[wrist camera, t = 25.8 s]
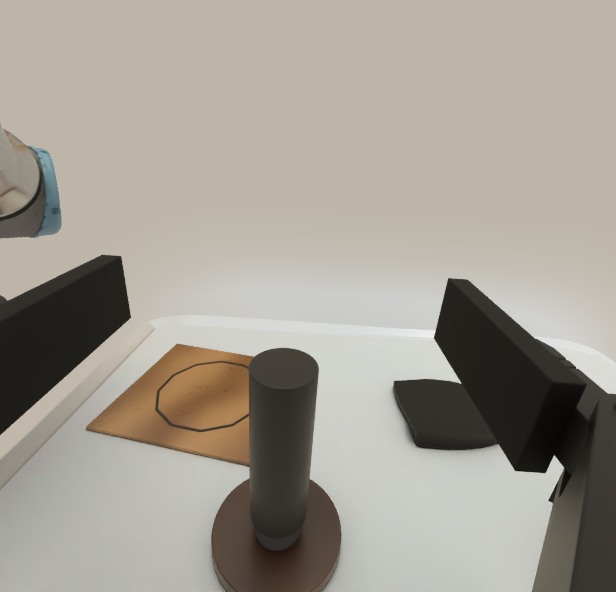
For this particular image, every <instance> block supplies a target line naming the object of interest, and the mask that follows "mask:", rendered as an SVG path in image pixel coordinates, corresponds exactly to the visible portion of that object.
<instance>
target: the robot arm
mask: <svg viewBox="0 0 616 592" xmlns="http://www.w3.org/2000/svg"><path fill="white" fill-rule="evenodd" d="M60 228H61V211H60V201H59V193H58V187H57V181H56V176H55V171H54V166H53V162H52V159H51V157H50V154H49V153H48V152H47V151H46V150H44V149H41V148H35V147H33V146H26V145H25V144H24V143H23V142H22V141H21V140H19V139H18V138H17V137H16V136H14V135H13V134H11V133H10V132H8V131H6V130H5V129H3V128H2V126H1V124H0V238H14V237H30V238H31V237H33V238H35V237H39V236H43V235H51V234H55V233H57V232H58V231H59V230H60ZM130 318H131V315H130V309H129V302H128V296H127V290H126V284H125V277H124V271H123V265H122V259H121V256H109V255H101V256H99V257H97V258H95V259H93V260H91V261H89V262H87V263H85V264H83V265H80V266H78V267H76V268H74V269H72V270H70V271H68V272H66V273H64V274H62V275H60V276H58V277H56V278H54V279H52V280H50V281H48V282H46V283H44V284H42V285H40V286H37V287H35V288H34V289H31V290H29V291H27V292H25V293H23V294H21V295H19V296H17V297H15V298H13V299H11V300H9V301H7V302H5V303H3V304H1V305H0V435H1V434H2V433H3V432H4V431H5V430H6V429H7V428H9V427H10V426H11V425H12V424H13V423H14V422H15V421H16V420H17V419H19V418H20V417H21V416H22V415H23V414H24V413H25V412H26V411H27V410H28V409H30V408H31V407H32V406H33V405H34V404H35V403H36V402H37V401H39V400H40V399H41V398H42V397H43V396H44V395H45V394H46V393H48V392H49V391H50V390H51V389H52V388H53V387H54V386H55V385H56V384H58V383H59V382H60V381H61V380H62V379H63V378H64V377H65V376H66V375H68V374H69V373H70V372H71V371H72V370H73V369H74V368H75V367H76V366H77V365H79V364H80V363H81V362H82V361H83V360H84V359H85V358H87V357H88V356H89V355H90V354H91V353H92V352H93V351H94V350H95V349H96V348H98V347H99V346H100V345H101V344H102V343H103V342H104V341H105V340H106V339H108V338H109V337H110V336H111V335H112V334H113V333H114V332H115V331H117V330H118V329H119V328H120V327H121V326H122V325H123V324H124V323H126V321H128V320H129V319H130ZM434 339H435V341H436V342H437V344H438V345H439V347H440V349H441V350H442V352H443V354H444V355H445V357H446V359H447V360H448V362H449V363H450V365H451V367H452V368H453V370H454V372H455V373H456V375H457V377H458V378H459V380H460V381H461V383H462V385H463V386H464V388H465V390H466V391H467V393H468V395H469V396H470V398H471V399H472V401H473V403H474V404H475V406H476V408H477V409H478V411H479V412H480V414H481V416H482V417H483V419H484V421H485V422H486V424H487V426H488V427H489V429H490V430H491V432H492V434H493V435H494V437H495V439H496V440H497V442H498V444H499V445H500V447H501V448H502V450H503V452H504V453H505V455H506V457H507V458H508V460H509V461H510V463H511V465H512V466H513V468H514V470H515V471H523V472H538V473H546V471H547V469H548V467H549V464H550V462H551V460H552V458H553V456H554V455H555V456H556V458H557V459H558V460H559V461H560V463H561V464H562V465H563V467H564V470H563V472H562V474H561V476H560V478H559V480H558V482H557V484H556V486H555V488H554V490H553V492H552V494H551V496H550V498H549V500H548V501H550V502H552V503H553V506H552V511H551V515H550V519H549V523H548V527H547V531H546V536H545V540H544V544H543V548H542V552H541V556H540V560H539V565H538V569H537V573H536V577H535V581H534V585H533V589H532V592H616V394H607V393H606V392H605V391H604V390H603V389H602V388H600V387H599V386H598V385H597V384H596V383H594V382H593V381H592V380H591V379H590V378H589V377H587V376H586V375H585V374H584V373H583V372H581V371H580V370H579V369H576V367H575V366H574V365H573V364H572V363H571V362H570V361H568V360H566V358H565V357H564V356H562V355H561V354H560V353H559V352H558V351H557V350H555V349H554V348H552V347H551V346H549V345H547V344H545V343H543V342H541V341H540V340H538V339H535V338H534V337H532V336H531V335H530V334H529V333H528V332H527V331H525V330H524V329H523V328H522V327H521V326H520V325H519V324H518V323H516V322H515V321H514V320H513V319H512V318H511V317H509V316H508V315H507V314H506V313H505V312H504V311H503V310H502V309H500V308H499V307H498V306H497V305H496V304H495V303H493V302H492V301H491V300H490V299H489V298H488V297H487V296H485V295H484V294H483V293H482V292H481V291H480V290H479V289H478V288H476V287H475V286H474V285H473V284H472V283H471V282H470V281H468V280H464V279H451V278H449V279H448V282H447V286H446V290H445V294H444V298H443V303H442V307H441V311H440V315H439V319H438V324H437V328H436V332H435V336H434Z"/></svg>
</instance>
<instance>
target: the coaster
mask: <svg viewBox="0 0 616 592" xmlns="http://www.w3.org/2000/svg"><path fill="white" fill-rule="evenodd" d="M340 544H341V525H340V520H339V516H338V513H337V510H336V508H335V506H334V504H333V502H332V500H331V499H330V497H329V496H328V495H327V493H326V492H325V491H324V490H323V489H322V488H321V487H320V486H319V485H317V484H316V483H315V482H313V481H312V480H310V479H309V489H308V501H307V512H306V518H305V521H304V523H303V525H302V526H301V528H300V533H299V536H298V538H297V540H296V541H295V543H294V544H293V545H292V546H290V547H289V548H287V549H285V550H281V551H272V550H269V549H267V548H265V547H264V546H262V545H261V544H260V542H259V541H258V539H257V537H256V533H255V527H254V525H253V524H252V521H251V517H250V479H248V480H246V481H244V482H243V483H241V484H240V485H239V486H237V487H236V488H235V489H234V490H233V491H232V492H231V493H230V494H229V495H228V496H227V498H226V499H225V500H224V502H223V503H222V505H221V507H220V509H219V511H218V513H217V515H216V518H215V521H214V525H213V529H212V556H213V564H214V567H215V571H216V574H217V576H218V578H219V580H220V582H221V584H222V585H223V587H224V589H225V590H226V591H227V592H321V591H322V590H323V589H324V587H325V586H326V585H327V583H328V582H329V580H330V578H331V577H332V575H333V572H334V570H335V568H336V564H337V561H338V557H339V551H340Z"/></svg>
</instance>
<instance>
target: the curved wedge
mask: <svg viewBox="0 0 616 592" xmlns="http://www.w3.org/2000/svg"><path fill="white" fill-rule="evenodd" d="M393 388H394V391H395V395H396V399H397V402H398V404H399V406H400V409H401V410H402V412H403V414H404V416H405V418H406V419H407V421H408V423H409V425H410V427H411V430H412V434H413V437H414V441H415V443H416V445H417V446H420V447H425V448H436V449H462V450H463V449H473V448H482V447H486V446H490V445H494V444H497V443H498V442H497V440H496V439H495V437H494V435H493V434H492V432H491V430H490V429H489V427H488V426H487V424H486V422H485V421H484V419H483V417H482V416H481V414H480V412H479V411H478V409H477V408H476V406H475V404H474V403H473V401H472V399H471V398H470V396H469V395H468V393H467V391H466V390H465V388H464V386H463V385H462V384H459V383H456V382H451V381H443V380H434V379H420V380H406V381H394V385H393Z"/></svg>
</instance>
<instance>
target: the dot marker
mask: <svg viewBox="0 0 616 592" xmlns="http://www.w3.org/2000/svg"><path fill="white" fill-rule="evenodd" d="M318 372H319V367H318V364H317V362H316V361H315V359H314V358H313V357H311V356H310V355H308V354H307V353H305V352H302V351H299V350H296V349H290V348H276V349H270V350H267V351H264V352H261V353H260V354H258V355H256V356H255V357H254V358H253V359H252V360H251V362H250V364H249V460H250V517H251V521H252V524H253V525H254V527H255V533H256V537H257V539H258V541H259V542H260V544H261V545H262V546H264V547H265V548H267V549H269V550H272V551H281V550H285V549H287V548H289V547H290V546H292V545H293V544H294V543H295V541H296V540H297V538H298V536H299V533H300V528H301V526H302V525H303V523H304V521H305V518H306V512H307V501H308V489H309V477H310V466H311V454H312V442H313V431H314V419H315V407H316V396H317V384H318Z"/></svg>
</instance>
